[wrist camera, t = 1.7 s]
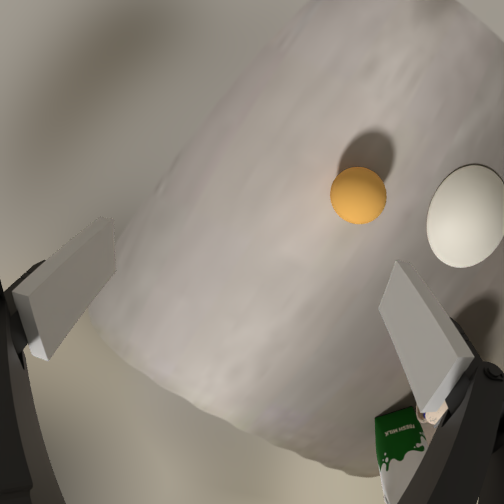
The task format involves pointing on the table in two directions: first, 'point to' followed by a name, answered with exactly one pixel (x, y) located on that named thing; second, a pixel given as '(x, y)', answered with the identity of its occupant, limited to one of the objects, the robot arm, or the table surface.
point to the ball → (358, 195)
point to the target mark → (466, 216)
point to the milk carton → (398, 451)
